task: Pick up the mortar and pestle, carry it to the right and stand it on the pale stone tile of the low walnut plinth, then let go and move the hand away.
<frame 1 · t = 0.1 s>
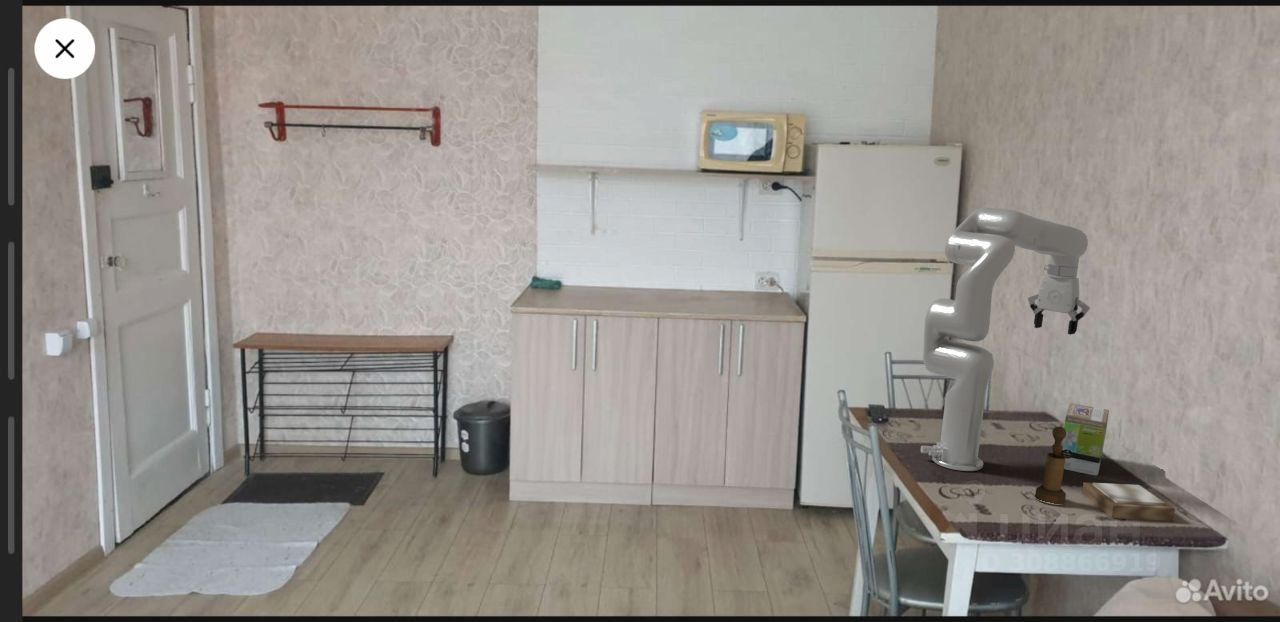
hand: (1054, 330, 256), 31 cm above the table, tool pointing down, fingers open, 9 cm apart
tea box: (1079, 465, 237), on the table
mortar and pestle: (1049, 501, 211), on the table
plinth: (1125, 507, 209), on the table
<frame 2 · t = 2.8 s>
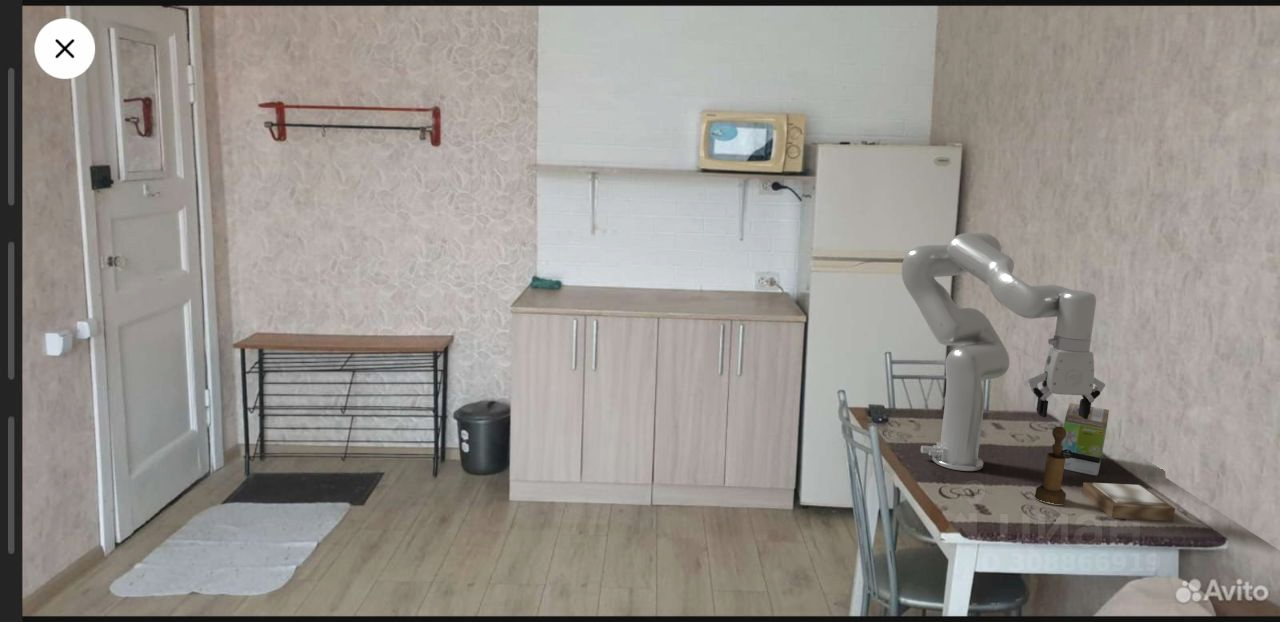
hand: (1062, 416, 207), 21 cm above the table, tool pointing down, fingers open, 9 cm apart
nothing on the table moved.
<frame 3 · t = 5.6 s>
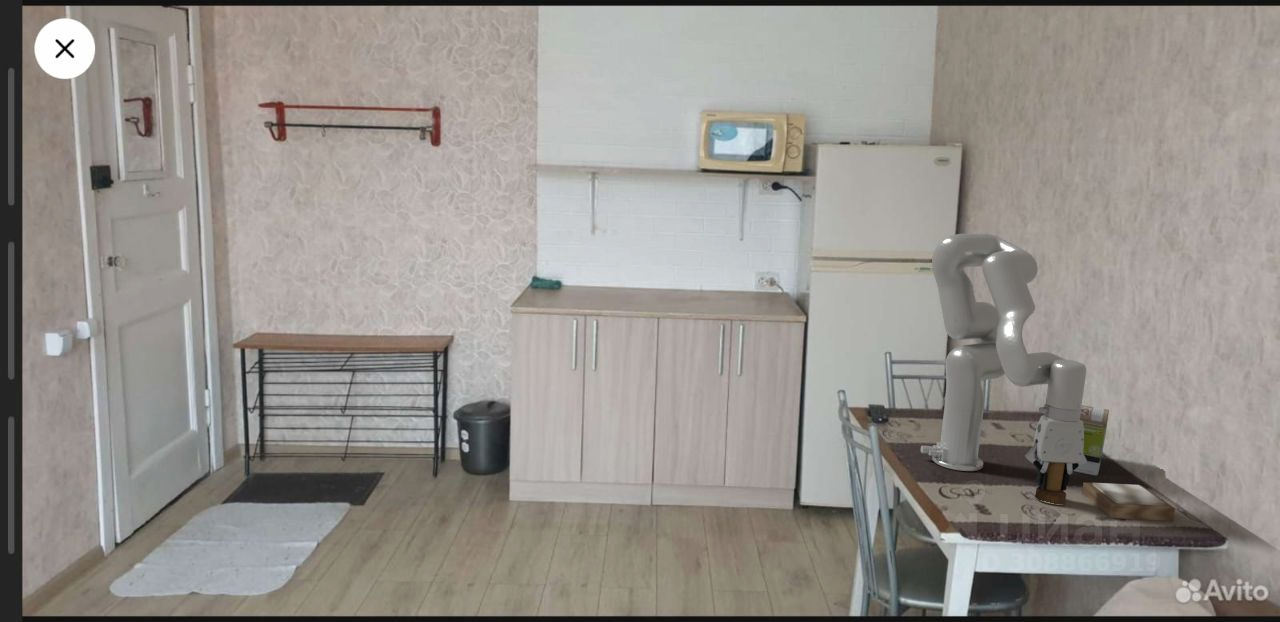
hand: (1051, 486, 210), 3 cm above the table, tool pointing down, fingers closed on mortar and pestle, 4 cm apart
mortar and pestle: (1049, 501, 211), on the table, touching gripper
everything else where it was.
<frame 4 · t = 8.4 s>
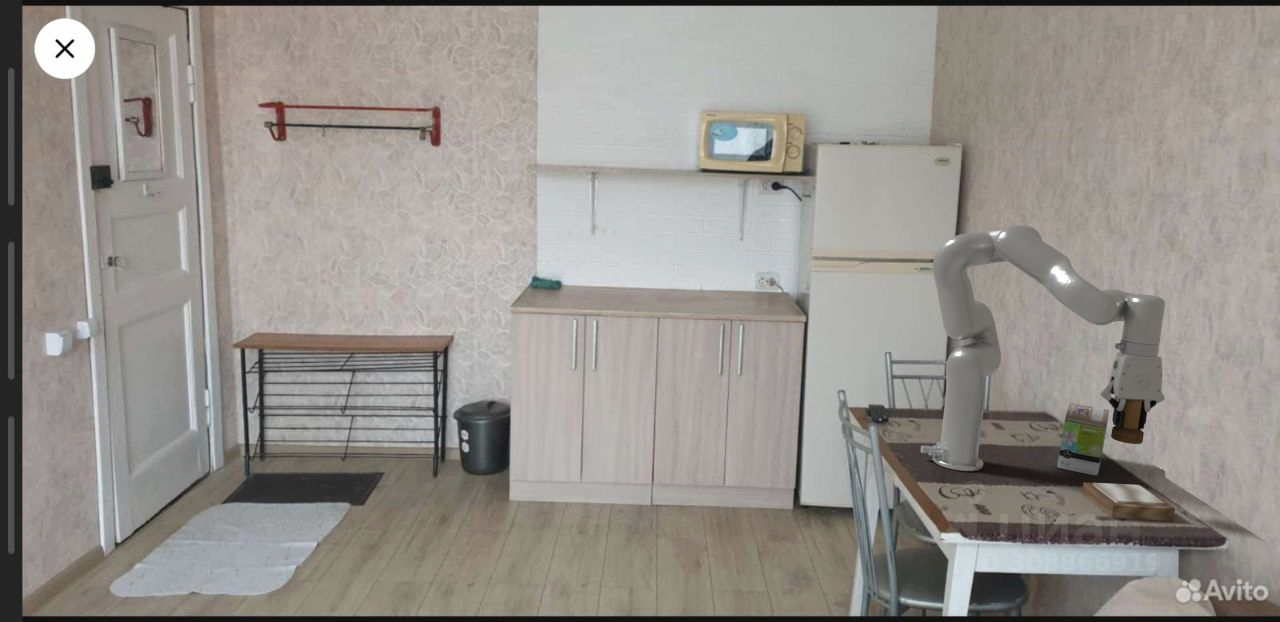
hand: (1128, 425, 205), 20 cm above the table, tool pointing down, fingers closed on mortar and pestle, 4 cm apart
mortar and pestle: (1126, 440, 206), point 16 cm above the table, touching gripper
everything else where it was.
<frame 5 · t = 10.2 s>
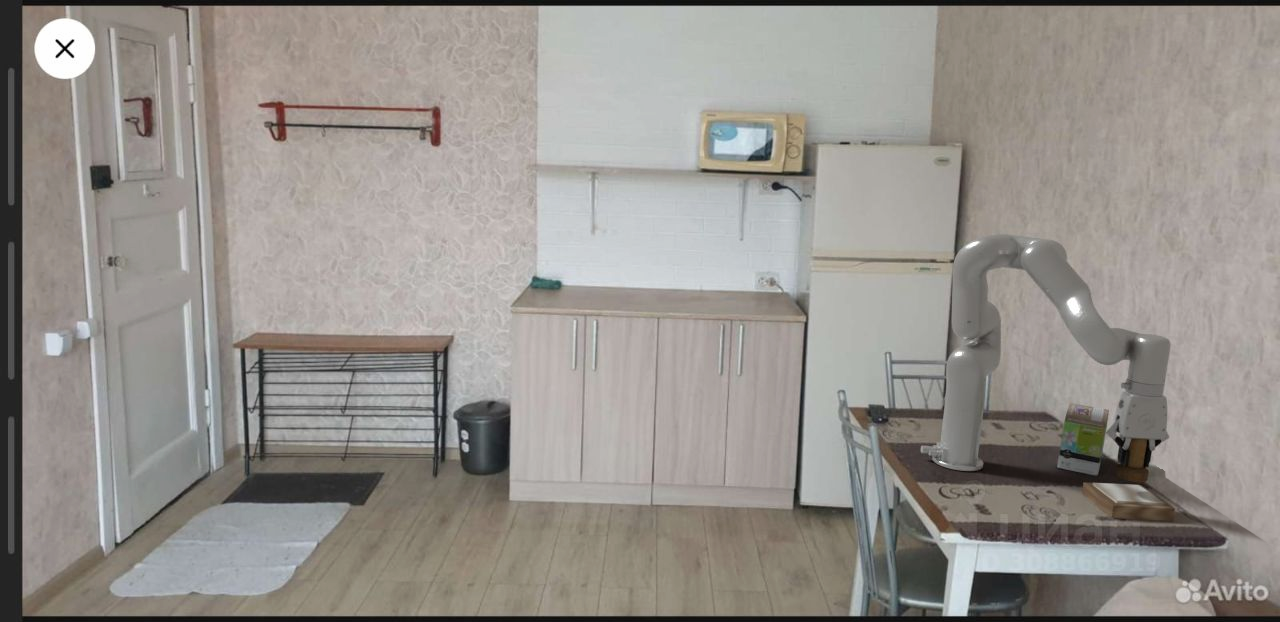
hand: (1133, 464, 207), 11 cm above the table, tool pointing down, fingers closed on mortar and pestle, 4 cm apart
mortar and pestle: (1131, 478, 207), point 7 cm above the table, touching gripper
everything else where it was.
when the fingers open (8 cm above the table, at t = 11.4 s): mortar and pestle drops 1 cm, resting on plinth.
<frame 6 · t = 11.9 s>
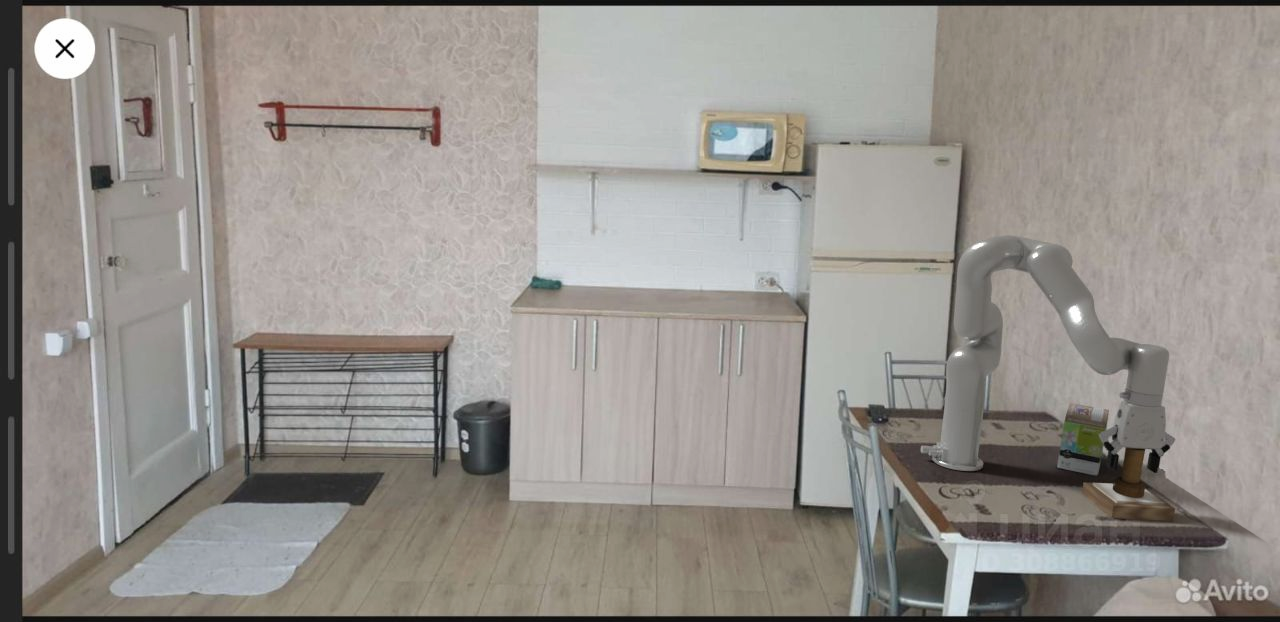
hand: (1131, 469, 207), 9 cm above the table, tool pointing down, fingers open, 9 cm apart
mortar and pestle: (1128, 493, 208), point 3 cm above the table, touching plinth
everything else where it was.
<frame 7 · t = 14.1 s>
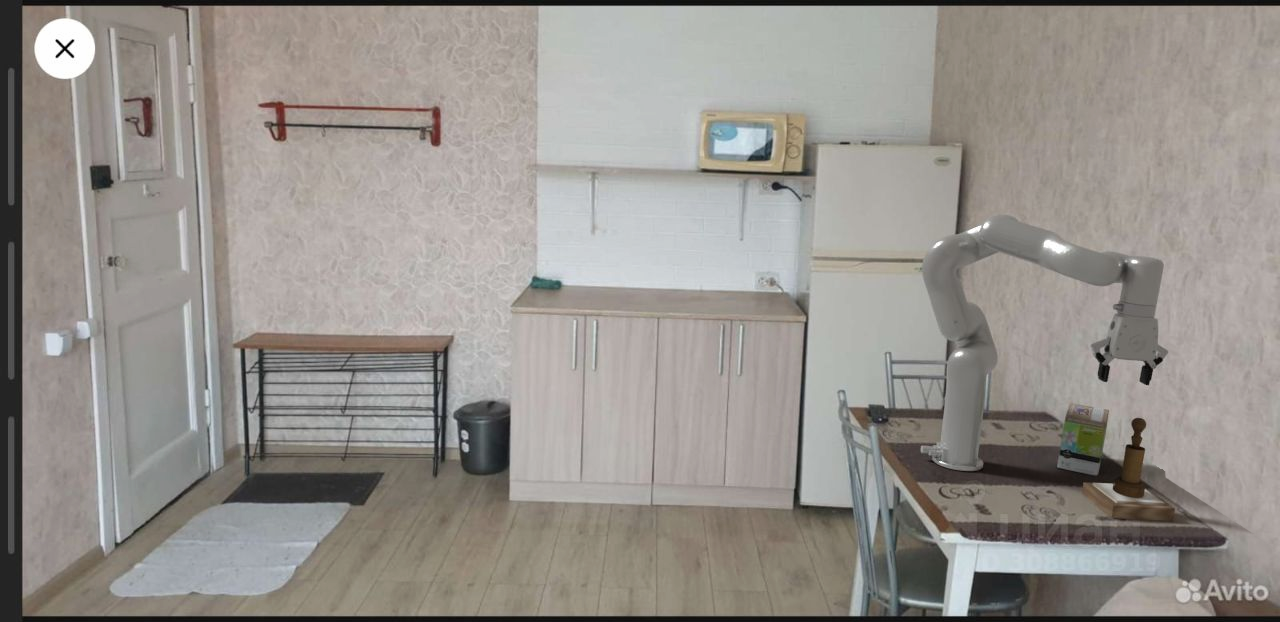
hand: (1123, 382, 208), 29 cm above the table, tool pointing down, fingers open, 9 cm apart
nothing on the table moved.
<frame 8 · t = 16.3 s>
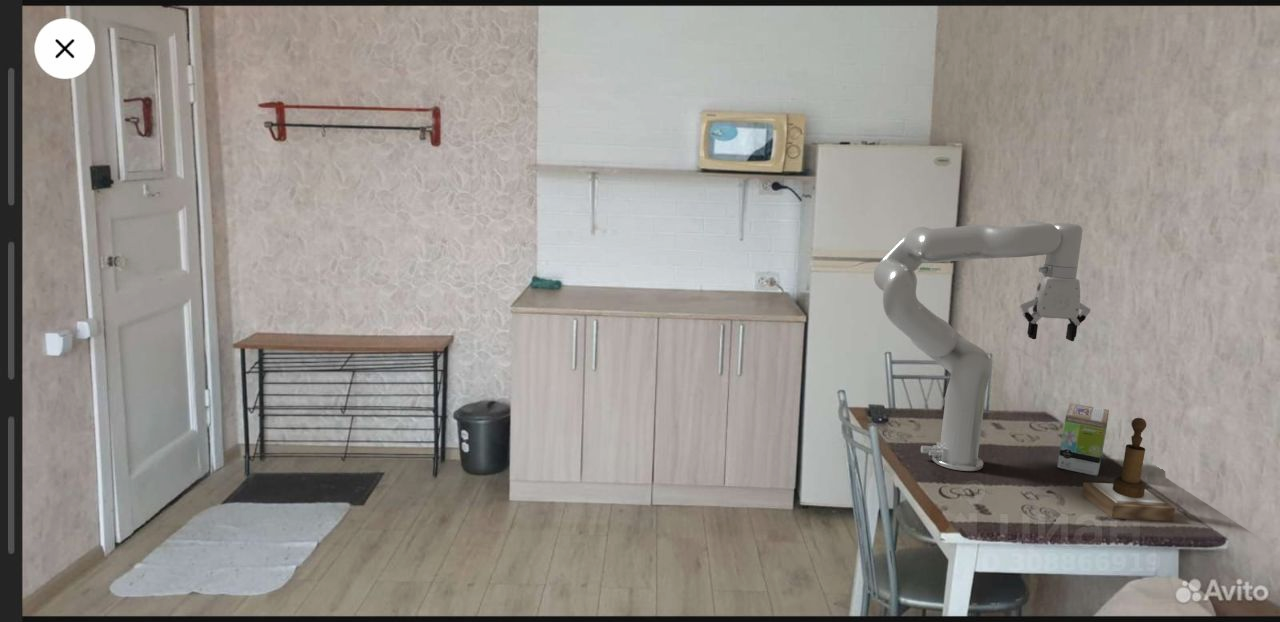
hand: (1050, 339, 227), 34 cm above the table, tool pointing down, fingers open, 9 cm apart
nothing on the table moved.
at the end: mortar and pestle inside the target area on the plinth (0.1 cm from its centre), point 3.4 cm above the plinth's base; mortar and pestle tilted 0°; the gripper is holding nothing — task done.
